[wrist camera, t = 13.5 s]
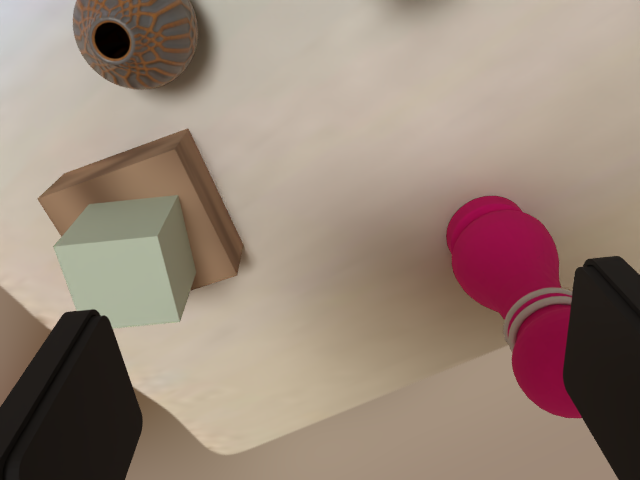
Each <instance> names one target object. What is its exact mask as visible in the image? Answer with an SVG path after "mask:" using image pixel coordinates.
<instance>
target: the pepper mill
mask: <svg viewBox="0 0 640 480" xmlns="http://www.w3.org/2000/svg"><path fill="white" fill-rule="evenodd" d="M446 237H447V245H448V248H449V250H450V252H451V254H452V267H453V272H454V275H455V277H456V279H457V281H458V282H459V284H460V285H461V287H462V288H463V290H464V291H465V292H466V293H467V294H468V295H469V296H470V297H471V298H473V299H474V300H475V301H477V302H478V303H480V304H481V305H483V306H485V307H487V308H490V309H492V310H494V311H496V312H499V313H500V314H501V316H502V317H503V319H504V320H505V321H504V326H503V333H504V337H505V340H506V342H507V343H508V345H509V346H510V349H511V351H512V353H513V354H512V367H513V372H514V375H515V377H516V380H517V382H518V384H519V386H520V387H521V389H522V390H523V392H524V393H525V394H526V396H527V397H528V398H529V399H530V400H531V401H533V402H534V403H535V404H536V405H537V406H539V407H540V408H541V409H543V410H545V411H547V412H549V413H552V414H554V415H558V416H561V417H565V418H582V417H581V415H580V413H579V411H578V410H577V408H576V406H575V405H574V403H573V401H572V400H571V398H570V396H569V395H568V393H567V391H566V389H565V386H564V381H563V366H564V358H565V350H566V342H567V334H568V325H569V317H570V309H571V301H572V291H570V290H567V289H564V288H562V287H561V286H560V282H559V259H558V253H557V250H556V246H555V243H554V241H553V239H552V237H551V235H550V234H549V232H548V231H547V229H546V228H545V226H544V225H543V224H542V223H541V222H540V221H539V220H537V219H536V218H534V217H532V216H531V215H529V214H526V213H523V212H522V211H521V209H520V208H519V207H518V206H517V205H516V204H515V203H514V202H512V201H510V200H508V199H506V198H503V197H499V196H484V197H480V198H477V199H474V200H472V201H470V202H468V203H467V204H465V205H464V206H462V207H461V208H460V209H459V210H458V211H457V212H456V213H455V214H454V216H453V217H452V219H451V221H450V222H449V225H448V228H447V235H446Z"/></svg>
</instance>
